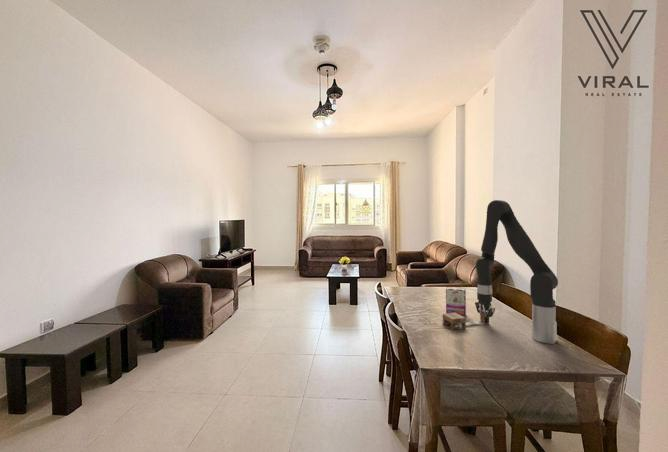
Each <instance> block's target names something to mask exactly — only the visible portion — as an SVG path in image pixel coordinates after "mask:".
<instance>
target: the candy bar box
mask: <svg viewBox="0 0 668 452" xmlns="http://www.w3.org/2000/svg"><path fill="white" fill-rule="evenodd" d="M466 295H467V292H466V288H462V287H448V286H446V288H445V312H446V313H457V314H459V315H461V316H463V317H465V318H466V316H467V301H466V300H467V299H466V297H467V296H466Z"/></svg>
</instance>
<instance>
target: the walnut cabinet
mask: <svg viewBox="0 0 668 452" xmlns="http://www.w3.org/2000/svg"><path fill="white" fill-rule="evenodd" d="M466 322H467V320H466V316H465V317H463V316H461V315H459V314H457V313H442V325H444V326H447V325H450V324H451V327H450V330H451V331H455V328H454V324H457V325H458V324H461V328H462V329H463V330H465V329H466Z"/></svg>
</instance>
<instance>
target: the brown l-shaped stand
mask: <svg viewBox="0 0 668 452" xmlns="http://www.w3.org/2000/svg"><path fill="white" fill-rule="evenodd" d="M487 314H488V313H487ZM489 323H490V322H489ZM489 323H488V324H486V323H485V314H484V312H483V311H482V312H481V320H476V321H475V320H474V321H466V327H476V326H485V325H489Z"/></svg>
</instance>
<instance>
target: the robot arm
mask: <svg viewBox="0 0 668 452" xmlns="http://www.w3.org/2000/svg"><path fill="white" fill-rule="evenodd" d="M499 222H500V223H501V224H502V227H504V230H505V235H506V239H507V242H508V243H509V245H510V247H511V249H512V250H513V252H514V253H515V254H516V255H517V256H518V257H519V258H520V259H521V260H522V261H524V263H525V264H526V265H527V266H528V267H529V269H530V270H531V272H532V274H533V275H532V276H531V277H530V281H529V282H530V284H529V286H530V287H529V290H530V299H531V303H532V304H531V305H532V306H531V307H532V308H531V313H532V314H531V318H532V319H531V320H532V321H531V337H532V339H533V340H534V341H537V342H539V343H542V344H543V343H544V344H550V345H551V344H552V345H555V343H556V342H557V331H558V330H557V326H558V323H557V321H556V314H557V313H556V308H557V307H556V305H557V304H556V302H557V301H556V300H555V299H554V292H553V290H555V289H557V287H558V285H559V280H558V277H557V276H556V274H555V273H554V272H553V271H552V269H551V268H550V267H549V265H548V264H547V263H546V261H545V260H544V259H543V257H542V256H541V254H540V252H539V251H538V249H537V248H536V246H535V244H534V242H533V241H532V240H531V238H530V236H529V235H528V234H527V232H526V231H525V229H524V228H523V226H522V225H521V223H520V221H518V219H517V217H516V215H515V213H514V211H513V208H512V206H511V205H510V204H509V203H508V202H507V201H505V200H499V199H495V200H492V201H490V202H489V203H488V205H487V209H486V220H485V230H484V234H483V238H482V243H481V247H480V252H481V257H479V258H478V259H476V262H475V270H476V273H477V274H476V275H477V289H476V290H477V291H476V300H478V301H475V303H474V305H475V308H476V311H477V313H478V314H479V315H480V316H479V318H480V320H479V321H481V312H484V314H485V323H486V324H485V325H489V324H488V323H490V318H492V317H493V315H494V313H495V312H496V308H494V307H493V306H492V302H493V285H492V280H493V279H492V278H493V277H492V275H491V274H490V269H491V268H492V267H493V265H494V262H495V251H496V249H497V245H498V241H499V240H498V239H499V238H498V237H499V235H498V234H499V233H498V229H499ZM487 313H488V314H487Z"/></svg>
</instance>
